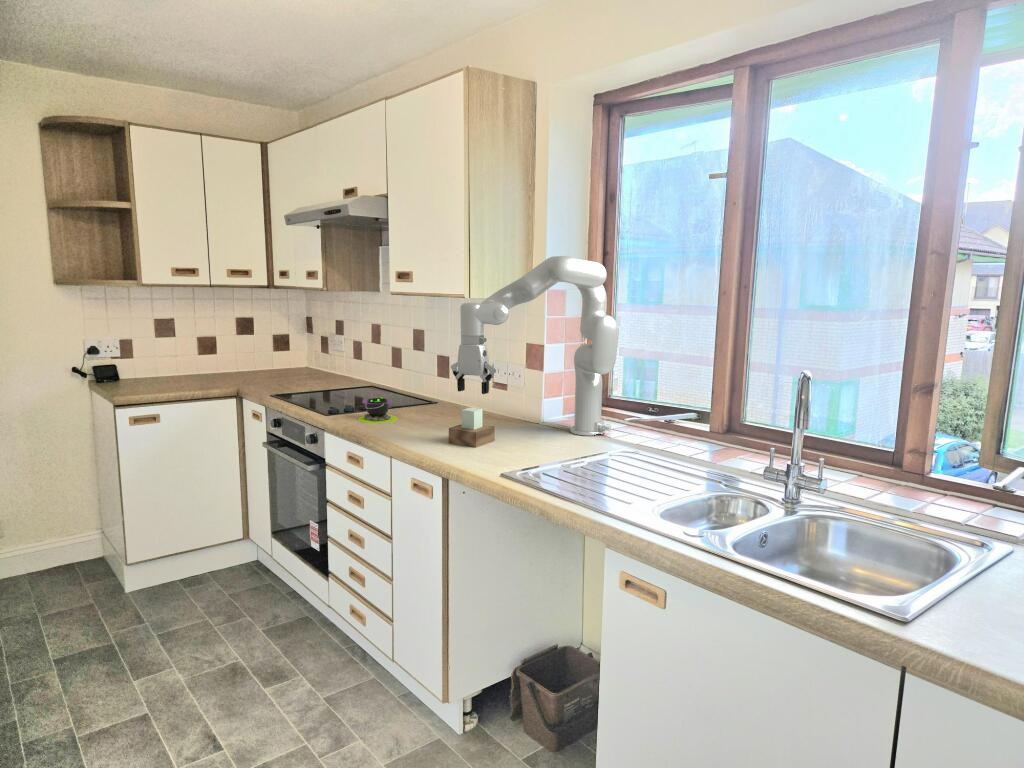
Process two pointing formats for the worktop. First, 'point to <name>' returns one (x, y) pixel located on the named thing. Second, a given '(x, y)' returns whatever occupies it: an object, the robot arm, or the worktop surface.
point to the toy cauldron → (377, 411)
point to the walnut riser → (471, 435)
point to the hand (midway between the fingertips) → (473, 392)
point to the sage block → (472, 418)
